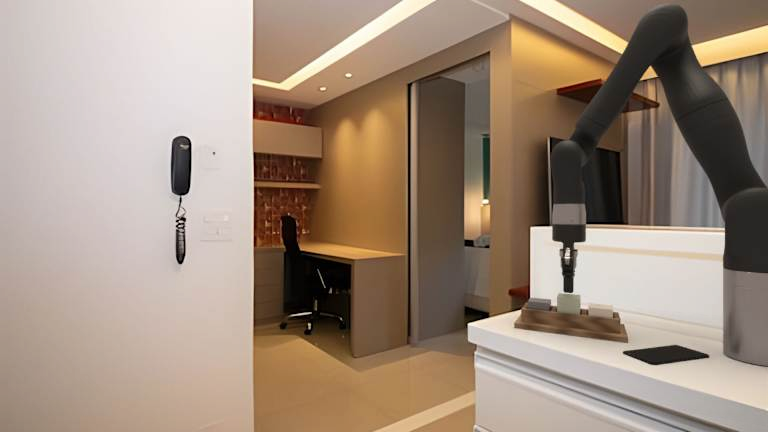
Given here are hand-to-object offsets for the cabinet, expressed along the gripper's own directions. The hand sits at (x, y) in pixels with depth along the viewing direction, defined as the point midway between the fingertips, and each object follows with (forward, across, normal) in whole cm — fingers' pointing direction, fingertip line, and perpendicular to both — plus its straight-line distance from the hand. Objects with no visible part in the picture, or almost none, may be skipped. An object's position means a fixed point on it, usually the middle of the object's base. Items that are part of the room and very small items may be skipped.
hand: (568, 292), depth 95 cm
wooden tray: (+9, 0, 0) cm, 9 cm away
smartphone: (+9, -11, -18) cm, 23 cm away
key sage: (+6, 0, 0) cm, 6 cm away
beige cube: (+7, 0, -7) cm, 10 cm away
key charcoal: (+8, 0, +7) cm, 10 cm away
